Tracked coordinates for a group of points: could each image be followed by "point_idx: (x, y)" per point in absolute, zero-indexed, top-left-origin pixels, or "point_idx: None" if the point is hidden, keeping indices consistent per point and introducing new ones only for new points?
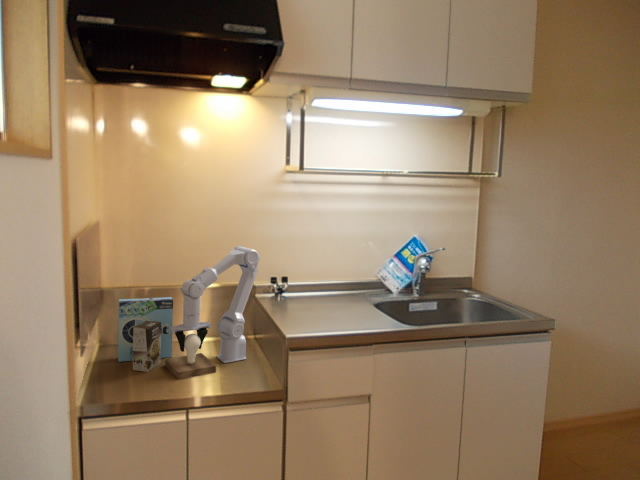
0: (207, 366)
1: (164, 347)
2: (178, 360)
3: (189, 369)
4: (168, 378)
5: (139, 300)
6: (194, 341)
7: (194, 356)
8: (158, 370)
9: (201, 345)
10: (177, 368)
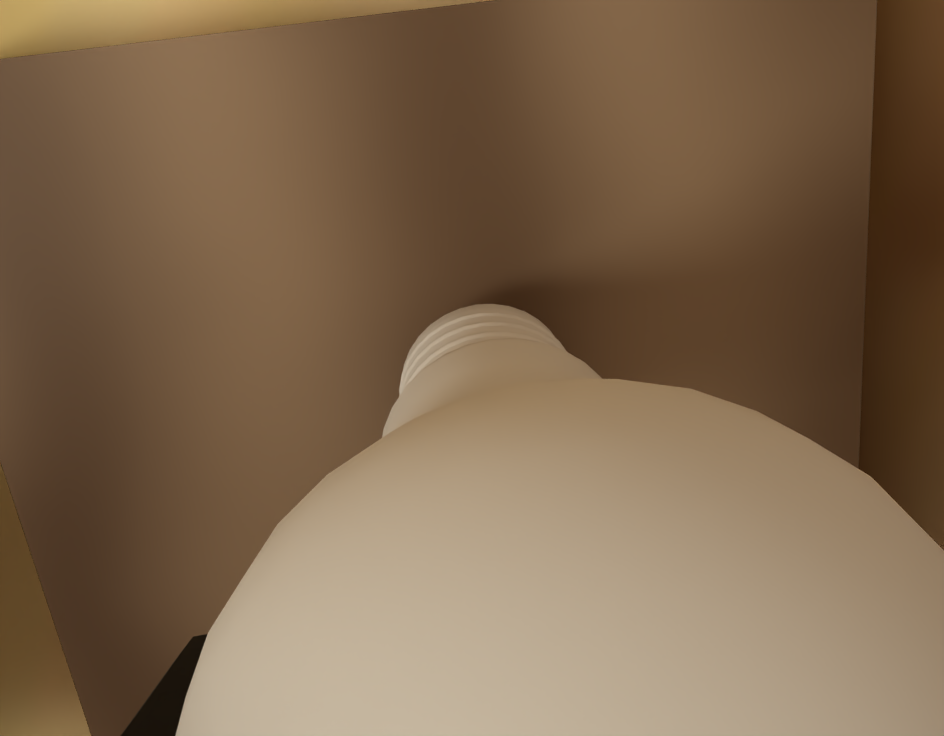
0: (120, 94)
1: None
2: None
3: (591, 60)
4: (923, 99)
5: None
6: (657, 538)
7: (445, 360)
8: (937, 489)
9: (152, 703)
10: (810, 210)
